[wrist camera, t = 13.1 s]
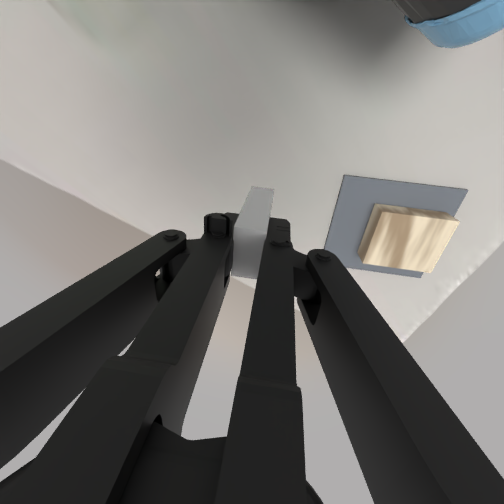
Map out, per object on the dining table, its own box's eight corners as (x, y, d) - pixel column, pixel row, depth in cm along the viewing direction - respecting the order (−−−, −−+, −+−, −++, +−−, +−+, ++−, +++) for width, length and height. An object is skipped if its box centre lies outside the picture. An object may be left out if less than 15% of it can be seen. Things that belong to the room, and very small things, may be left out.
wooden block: (362, 263, 45) (430, 272, 44) (382, 211, 40) (459, 221, 39) (357, 251, 49) (420, 260, 48) (374, 202, 44) (445, 211, 43)
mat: (320, 262, 52) (320, 263, 51) (344, 174, 42) (344, 175, 42) (419, 276, 50) (420, 278, 50) (466, 189, 41) (468, 190, 41)
